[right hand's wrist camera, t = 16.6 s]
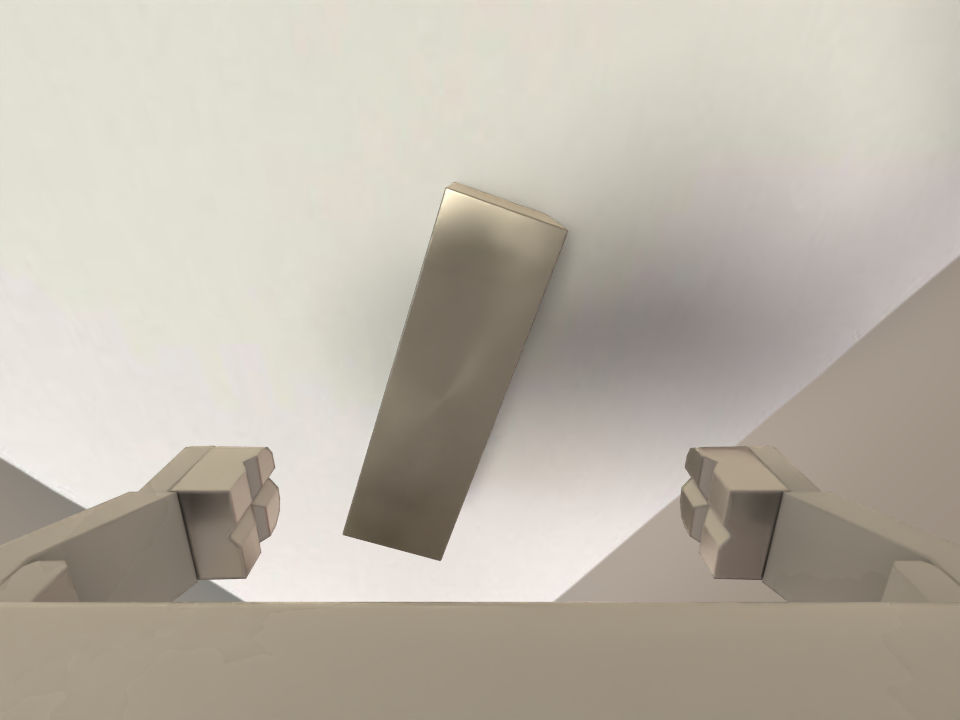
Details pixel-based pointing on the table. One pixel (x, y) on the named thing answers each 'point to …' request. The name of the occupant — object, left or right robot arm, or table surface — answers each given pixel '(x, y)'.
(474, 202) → the box
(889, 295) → the table surface
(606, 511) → the table surface
